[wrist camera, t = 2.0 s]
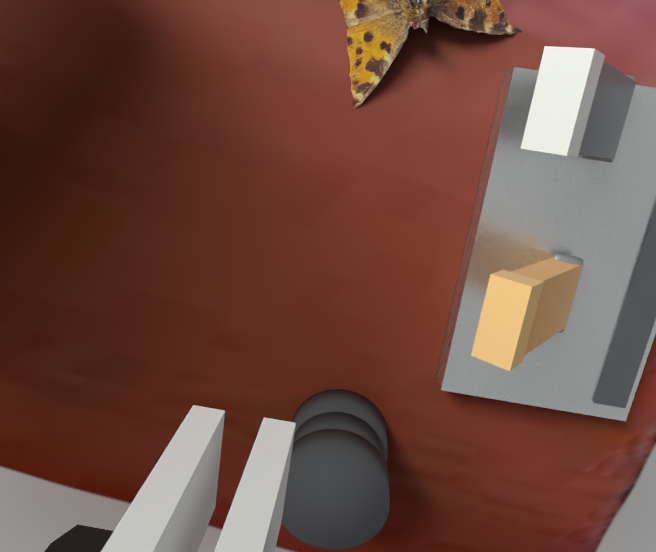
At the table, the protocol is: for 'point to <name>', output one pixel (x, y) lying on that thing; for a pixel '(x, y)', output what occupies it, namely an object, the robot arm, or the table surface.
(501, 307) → the paddle orange
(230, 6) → the table surface
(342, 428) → the grey stacked discs
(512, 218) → the panel
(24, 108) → the table surface
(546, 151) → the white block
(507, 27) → the butterfly model
